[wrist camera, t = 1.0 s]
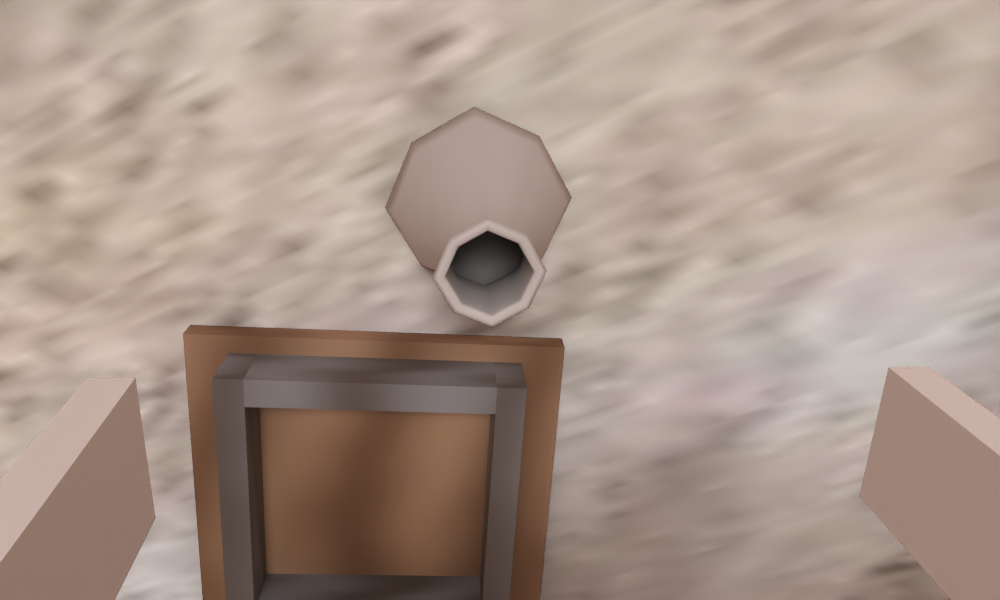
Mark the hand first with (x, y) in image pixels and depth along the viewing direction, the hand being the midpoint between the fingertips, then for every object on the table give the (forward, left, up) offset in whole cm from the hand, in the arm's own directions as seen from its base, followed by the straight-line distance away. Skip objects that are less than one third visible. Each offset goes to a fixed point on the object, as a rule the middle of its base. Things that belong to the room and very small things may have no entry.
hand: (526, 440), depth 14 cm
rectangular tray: (+4, +13, -20) cm, 25 cm away
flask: (0, 0, -21) cm, 20 cm away
